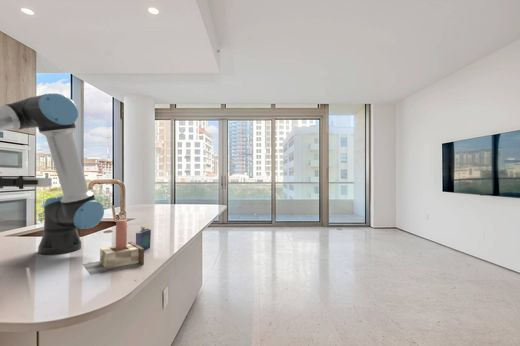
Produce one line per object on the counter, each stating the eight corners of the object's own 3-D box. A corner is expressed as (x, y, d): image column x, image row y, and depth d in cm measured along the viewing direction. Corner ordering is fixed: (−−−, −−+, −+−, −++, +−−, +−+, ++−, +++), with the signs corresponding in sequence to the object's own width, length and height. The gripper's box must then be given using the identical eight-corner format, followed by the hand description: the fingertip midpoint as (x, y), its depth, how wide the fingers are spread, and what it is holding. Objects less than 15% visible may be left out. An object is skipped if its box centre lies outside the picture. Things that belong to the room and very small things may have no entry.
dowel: (114, 259, 96) (114, 220, 97) (124, 257, 99) (125, 219, 99) (116, 261, 94) (117, 221, 94) (127, 259, 96) (128, 220, 96)
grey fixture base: (82, 267, 94) (82, 248, 94) (131, 258, 105) (131, 241, 105) (90, 278, 84) (91, 257, 84) (143, 267, 95) (144, 248, 95)
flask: (139, 254, 110) (140, 228, 110) (132, 254, 110) (133, 228, 111) (151, 249, 119) (152, 225, 119) (145, 248, 120) (146, 224, 120)
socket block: (99, 262, 96) (100, 248, 96) (129, 256, 103) (129, 243, 103) (106, 269, 89) (107, 254, 89) (138, 263, 95) (138, 249, 96)
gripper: (-41, 193, 84) (46, 191, 98) (-57, 197, 65) (52, 195, 80) (-40, 169, 84) (46, 171, 98) (-55, 167, 66) (53, 170, 80)
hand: (49, 182), depth 89 cm, fingers open, 13 cm apart
